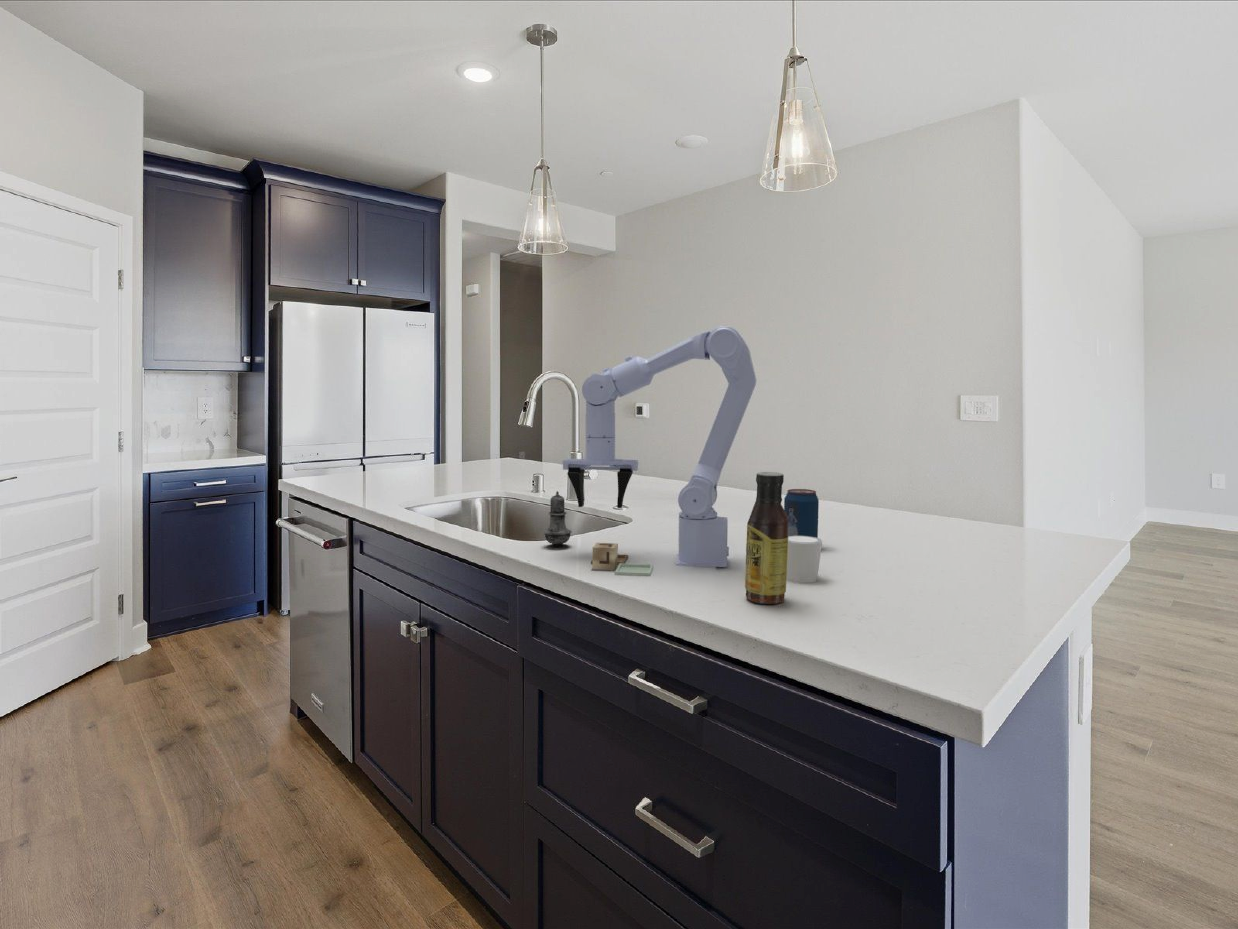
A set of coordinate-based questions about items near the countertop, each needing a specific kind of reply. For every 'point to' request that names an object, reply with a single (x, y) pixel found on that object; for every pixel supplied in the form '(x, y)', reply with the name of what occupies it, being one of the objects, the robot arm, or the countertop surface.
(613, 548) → the letter cube
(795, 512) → the soda can
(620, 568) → the stoneware dish
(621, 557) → the walnut dish
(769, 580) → the sauce bottle
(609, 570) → the slate mat
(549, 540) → the salt shaker
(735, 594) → the countertop surface
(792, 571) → the white tapered cylinder
